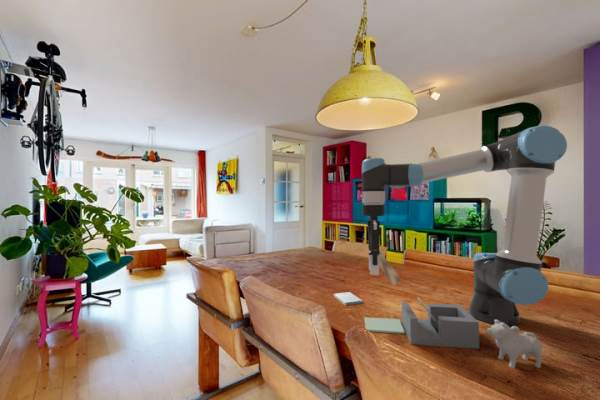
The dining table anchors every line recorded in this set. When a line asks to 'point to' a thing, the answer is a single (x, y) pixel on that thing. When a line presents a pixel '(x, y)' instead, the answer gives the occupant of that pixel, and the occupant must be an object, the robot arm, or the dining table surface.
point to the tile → (388, 269)
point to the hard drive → (348, 298)
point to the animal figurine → (515, 343)
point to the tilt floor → (427, 310)
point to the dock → (442, 326)
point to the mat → (384, 325)
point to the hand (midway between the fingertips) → (373, 272)
